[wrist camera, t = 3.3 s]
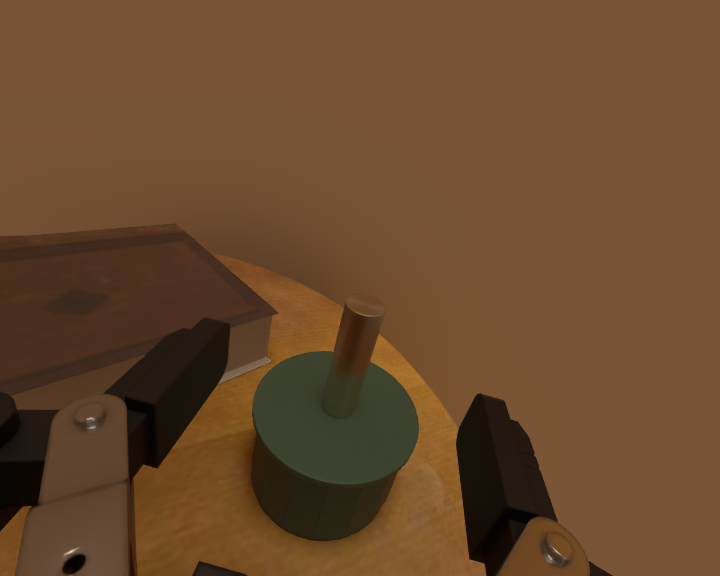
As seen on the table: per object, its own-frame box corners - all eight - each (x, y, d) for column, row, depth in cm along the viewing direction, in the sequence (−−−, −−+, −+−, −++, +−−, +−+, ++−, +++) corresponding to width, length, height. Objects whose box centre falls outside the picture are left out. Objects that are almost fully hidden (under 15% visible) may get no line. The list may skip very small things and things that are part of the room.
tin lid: (447, 454, 27) (502, 347, 22) (291, 530, 20) (323, 399, 15) (361, 349, 36) (387, 256, 31) (230, 378, 29) (239, 264, 24)
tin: (414, 500, 30) (441, 445, 27) (283, 572, 24) (298, 512, 21) (346, 400, 38) (360, 348, 35) (234, 435, 32) (239, 375, 28)
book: (-136, 315, 34) (-168, 251, 31) (176, 265, 54) (175, 223, 51) (-146, 534, 21) (-203, 461, 18) (271, 361, 41) (278, 313, 37)
